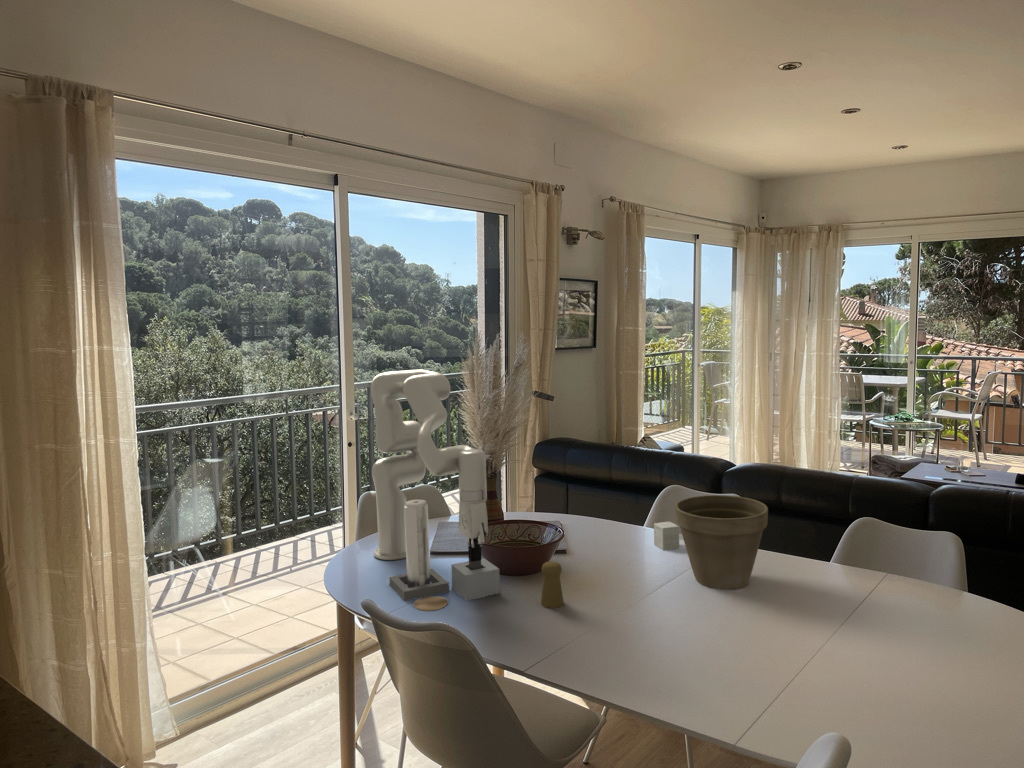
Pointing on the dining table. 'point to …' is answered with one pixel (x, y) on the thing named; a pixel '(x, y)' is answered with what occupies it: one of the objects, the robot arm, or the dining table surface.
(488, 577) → the housing
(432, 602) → the pad
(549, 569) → the pepper shaker
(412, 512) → the air filter
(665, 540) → the grey cube
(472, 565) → the plunger
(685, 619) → the dining table surface
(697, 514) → the plant pot
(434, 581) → the collar
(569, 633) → the dining table surface
